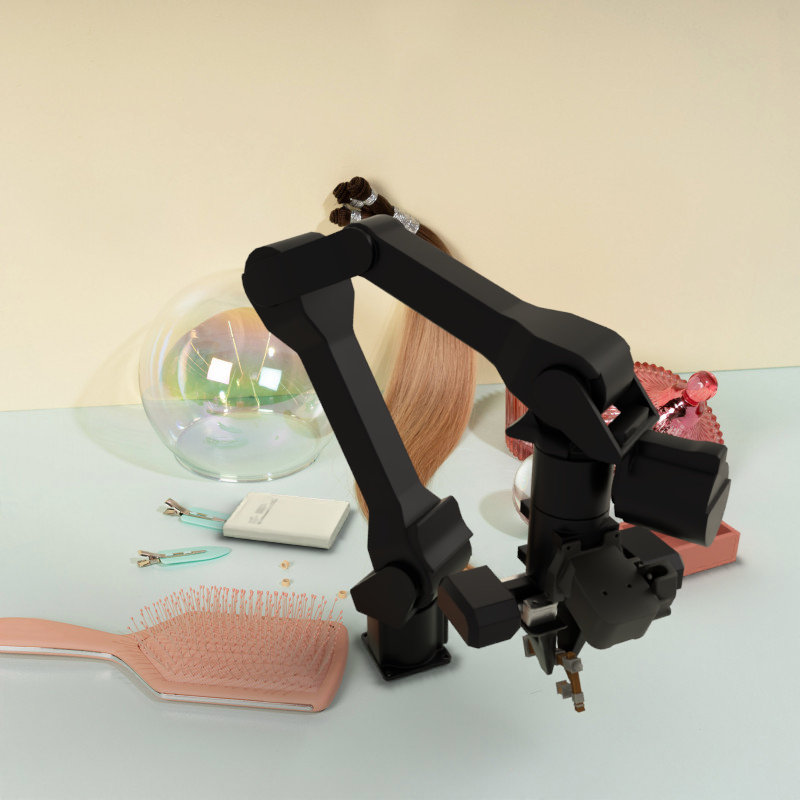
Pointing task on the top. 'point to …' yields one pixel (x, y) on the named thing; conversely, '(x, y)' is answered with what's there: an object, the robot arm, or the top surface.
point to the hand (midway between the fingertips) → (555, 668)
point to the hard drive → (288, 519)
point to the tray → (703, 549)
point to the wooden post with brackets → (572, 670)
